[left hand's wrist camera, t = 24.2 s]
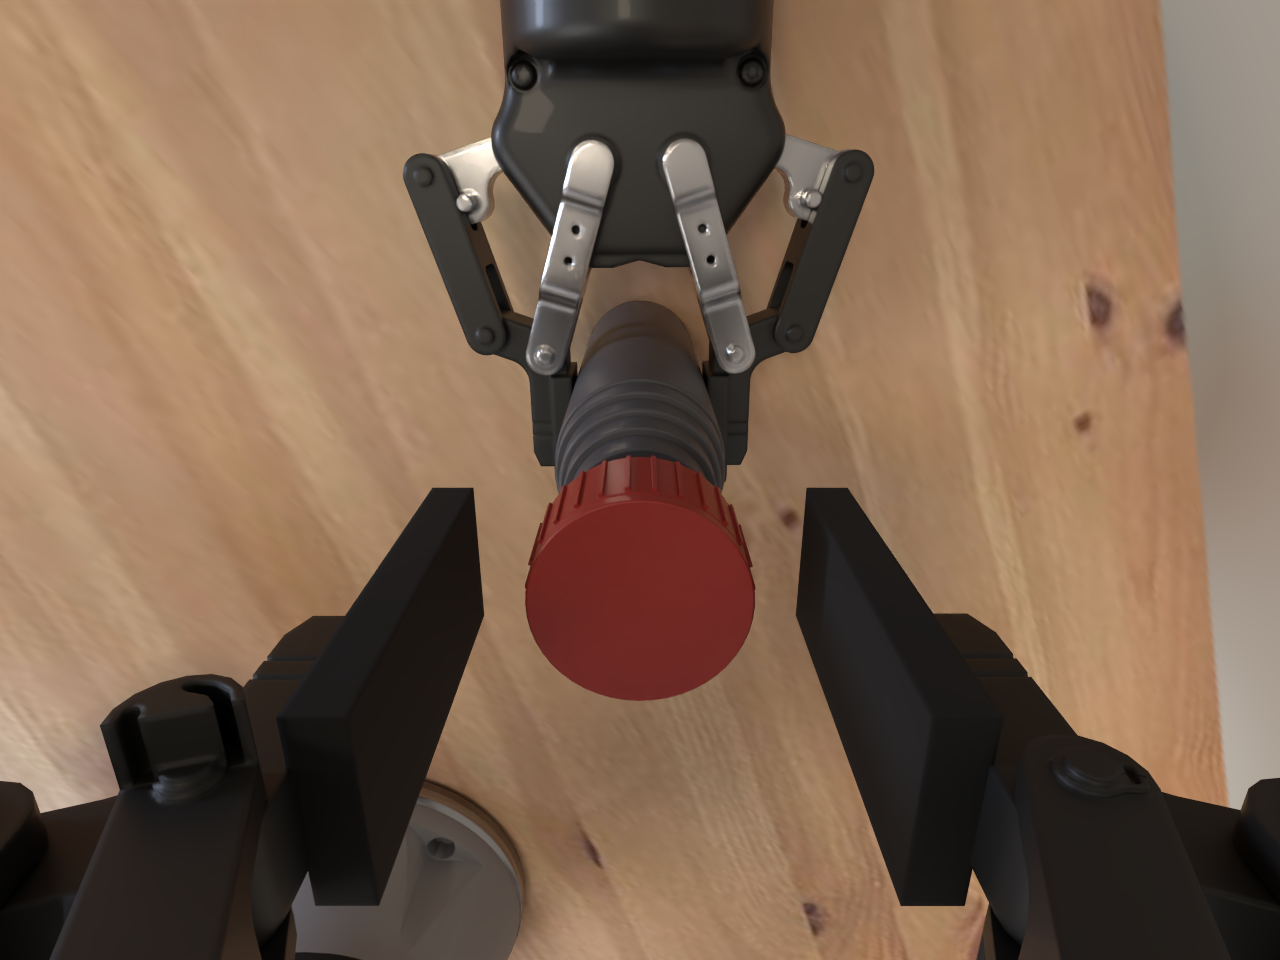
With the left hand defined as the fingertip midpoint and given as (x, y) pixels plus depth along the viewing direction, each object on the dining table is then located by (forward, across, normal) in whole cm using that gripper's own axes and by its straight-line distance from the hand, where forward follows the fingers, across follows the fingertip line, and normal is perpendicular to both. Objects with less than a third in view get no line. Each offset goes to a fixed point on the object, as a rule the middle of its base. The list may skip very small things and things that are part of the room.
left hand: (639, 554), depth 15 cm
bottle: (+18, 0, 0) cm, 18 cm away
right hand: (+12, 0, -3) cm, 12 cm away
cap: (-2, 0, 0) cm, 2 cm away
